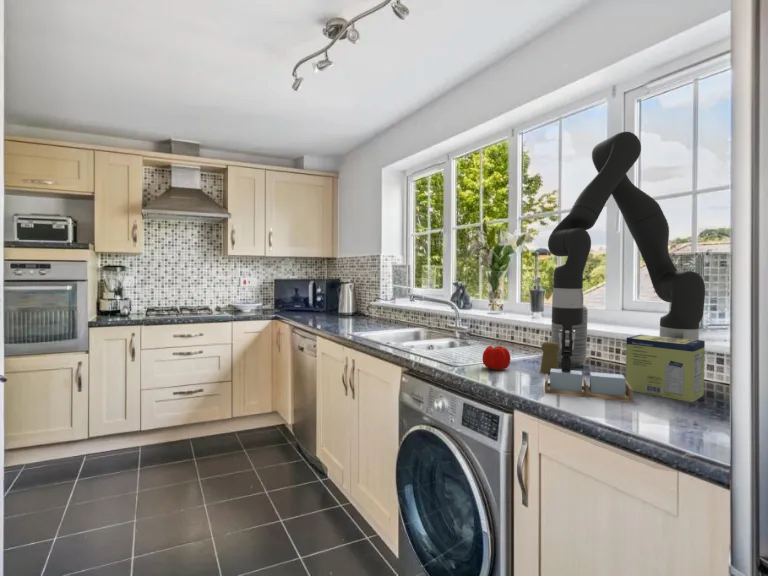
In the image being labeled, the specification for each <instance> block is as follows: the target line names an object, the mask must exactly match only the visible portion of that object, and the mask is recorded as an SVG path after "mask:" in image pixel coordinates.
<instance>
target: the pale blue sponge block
mask: <svg viewBox="0 0 768 576" xmlns="http://www.w3.org/2000/svg"><path fill="white" fill-rule="evenodd" d="M625 381H626V376H624V374H617V373H605V372H592V371H590V372H589V387H590V393H596V394H607V395H617V396H625Z"/></svg>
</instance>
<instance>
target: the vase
mask: <svg viewBox="0 0 768 576" xmlns="http://www.w3.org/2000/svg"><path fill="white" fill-rule="evenodd" d="M588 313H589V312H588V308H587V306H586V305H585V304H583V323H582V324H581V325H573V326H572V331H575V339H574V349H573V350H572V357H571V368H580V367H582V366H583V364H584V363H585V362H587V353H588V351H587V349H588V348H587V347H588ZM559 330H562V325H561V324H554V323H553V322H552V321H551V333H550V334H551V340H550V341H551V342H556V343H558V345H559V351H558V352H557V357H558V366H560V367H561V366H562V357H561V349H560V338H559Z"/></svg>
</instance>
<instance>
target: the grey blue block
mask: <svg viewBox="0 0 768 576" xmlns="http://www.w3.org/2000/svg"><path fill="white" fill-rule="evenodd" d="M549 383H550V389H555V390H566V391H576V392H582V386H583V372H582V370H574V369H573V370H572V369H571V371H570V372H562V370H561V368H559V369H551V370H550V374H549Z"/></svg>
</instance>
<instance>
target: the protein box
mask: <svg viewBox="0 0 768 576" xmlns="http://www.w3.org/2000/svg"><path fill="white" fill-rule="evenodd" d="M705 343H706V341H705V340H701V339H699V340H692V339H681V338H670V337H660V335H659V336H658V335H649V334H636V335H633V336H628V337H626V343H625V344H626V348H625V349H626V350H625V356H626V357H625V381H627V382H628V383H629V385H630V386H631V388H632V389H633V392H637V393H642V394H647V395H652V396H658V397H663V398H667V399H674V400H679V401H684V402H690V403H693V402H696V401H697V403H699V404H701V402H702V400H703V399H705V398H704V397H705V395H704V394H705V393H704V392H705V391H704V388H705V387H704V386H705V385H704V383H705V350H706V346H705ZM703 401H704V400H703Z"/></svg>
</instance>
